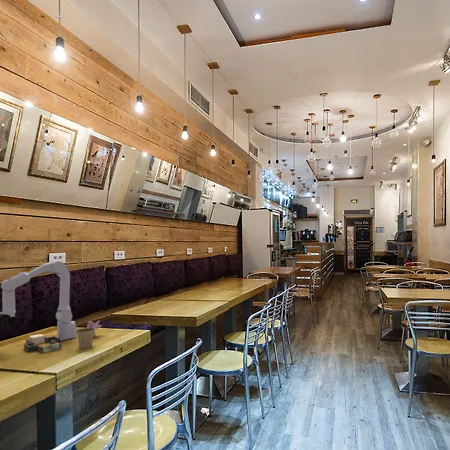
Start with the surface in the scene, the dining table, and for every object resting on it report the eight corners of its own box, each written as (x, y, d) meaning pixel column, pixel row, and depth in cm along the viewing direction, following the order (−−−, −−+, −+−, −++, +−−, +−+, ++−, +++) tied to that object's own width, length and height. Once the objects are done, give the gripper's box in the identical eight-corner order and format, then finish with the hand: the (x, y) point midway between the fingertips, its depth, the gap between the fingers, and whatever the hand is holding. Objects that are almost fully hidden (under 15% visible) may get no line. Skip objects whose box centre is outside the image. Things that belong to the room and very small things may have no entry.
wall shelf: (51, 338, 216) (51, 333, 216) (68, 347, 196) (68, 341, 196) (18, 345, 204) (18, 339, 204) (33, 354, 184) (33, 348, 184)
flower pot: (99, 345, 198) (99, 328, 198) (85, 350, 189) (85, 332, 190) (85, 343, 202) (85, 327, 202) (71, 348, 193) (71, 331, 194)
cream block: (41, 341, 212) (40, 334, 212) (44, 343, 207) (44, 335, 208) (29, 343, 208) (29, 336, 208) (32, 345, 203) (32, 337, 204)
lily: (105, 335, 222) (99, 320, 225) (106, 331, 212) (99, 316, 215) (85, 345, 217) (79, 330, 219) (85, 341, 207) (78, 325, 209)
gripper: (-4, 302, 201) (-3, 328, 200) (3, 305, 190) (3, 332, 190) (11, 300, 206) (12, 326, 205) (19, 303, 195) (19, 330, 194)
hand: (9, 329), depth 198 cm, fingers open, 7 cm apart
